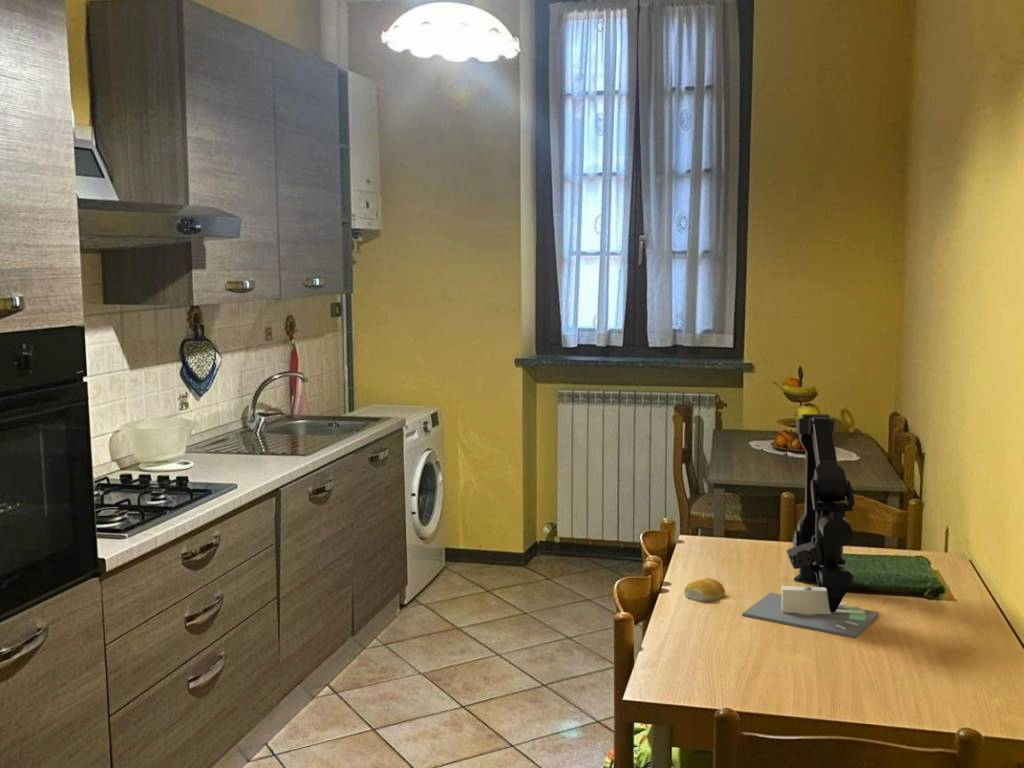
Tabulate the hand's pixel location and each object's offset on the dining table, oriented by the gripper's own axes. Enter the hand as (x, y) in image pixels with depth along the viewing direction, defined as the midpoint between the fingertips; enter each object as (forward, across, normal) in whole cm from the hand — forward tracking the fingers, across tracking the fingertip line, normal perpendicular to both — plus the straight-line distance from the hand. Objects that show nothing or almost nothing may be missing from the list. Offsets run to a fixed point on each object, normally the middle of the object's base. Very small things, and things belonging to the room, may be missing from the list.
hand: (827, 604), depth 216 cm
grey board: (+2, 0, -3) cm, 4 cm away
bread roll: (+3, -11, -25) cm, 28 cm away
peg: (+2, 0, -1) cm, 2 cm away
